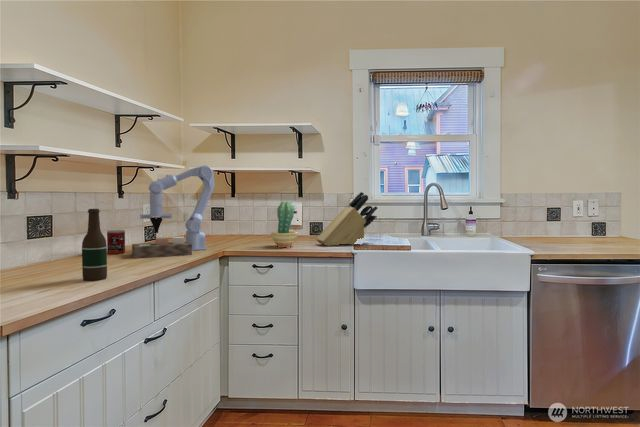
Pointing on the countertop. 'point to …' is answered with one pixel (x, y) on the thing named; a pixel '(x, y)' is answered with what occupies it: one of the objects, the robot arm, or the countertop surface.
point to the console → (161, 250)
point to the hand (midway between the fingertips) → (156, 232)
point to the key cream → (178, 240)
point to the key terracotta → (162, 241)
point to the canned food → (116, 241)
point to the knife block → (348, 223)
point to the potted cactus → (284, 226)
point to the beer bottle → (94, 250)
